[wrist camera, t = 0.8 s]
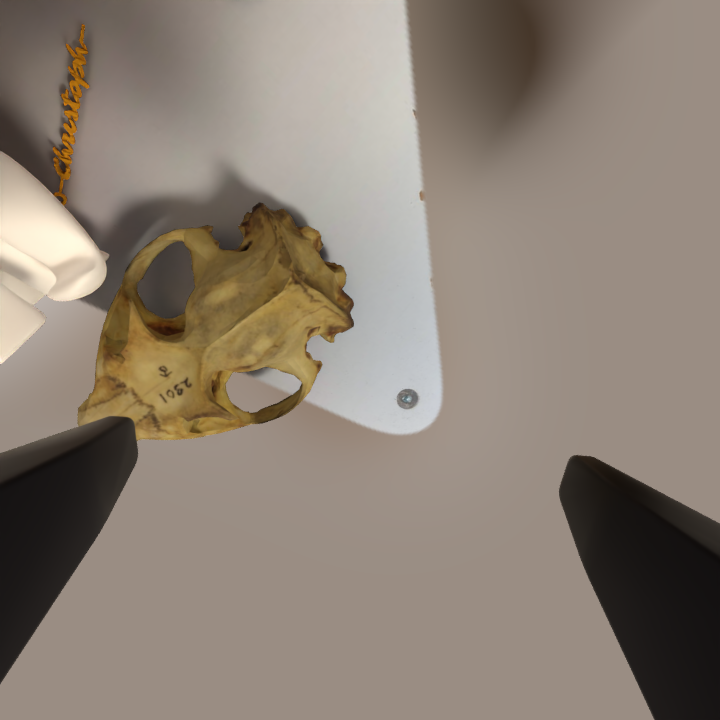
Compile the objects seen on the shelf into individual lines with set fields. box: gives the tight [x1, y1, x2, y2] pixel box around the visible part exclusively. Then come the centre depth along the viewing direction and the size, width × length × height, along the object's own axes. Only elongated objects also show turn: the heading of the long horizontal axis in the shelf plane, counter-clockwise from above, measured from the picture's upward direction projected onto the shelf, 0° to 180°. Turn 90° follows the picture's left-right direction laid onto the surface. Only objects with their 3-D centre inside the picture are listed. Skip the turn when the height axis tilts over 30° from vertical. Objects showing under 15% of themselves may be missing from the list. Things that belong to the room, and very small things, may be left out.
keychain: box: [53, 24, 89, 205], centre depth 20 cm, size 8×1×1 cm, turn 157°
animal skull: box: [78, 202, 354, 441], centre depth 21 cm, size 10×16×7 cm
